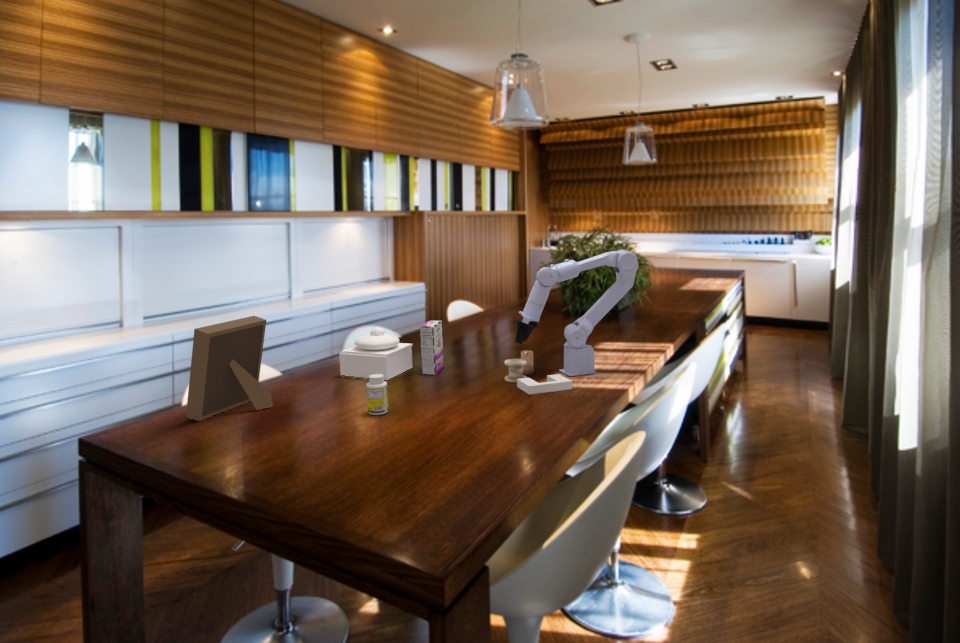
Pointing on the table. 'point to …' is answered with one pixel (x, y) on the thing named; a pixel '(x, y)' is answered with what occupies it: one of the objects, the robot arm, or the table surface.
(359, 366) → the butter dish
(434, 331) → the candy bar box
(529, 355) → the copper peg
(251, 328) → the photo frame
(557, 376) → the notched board
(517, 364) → the bobbin
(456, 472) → the table surface
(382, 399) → the supplement bottle
